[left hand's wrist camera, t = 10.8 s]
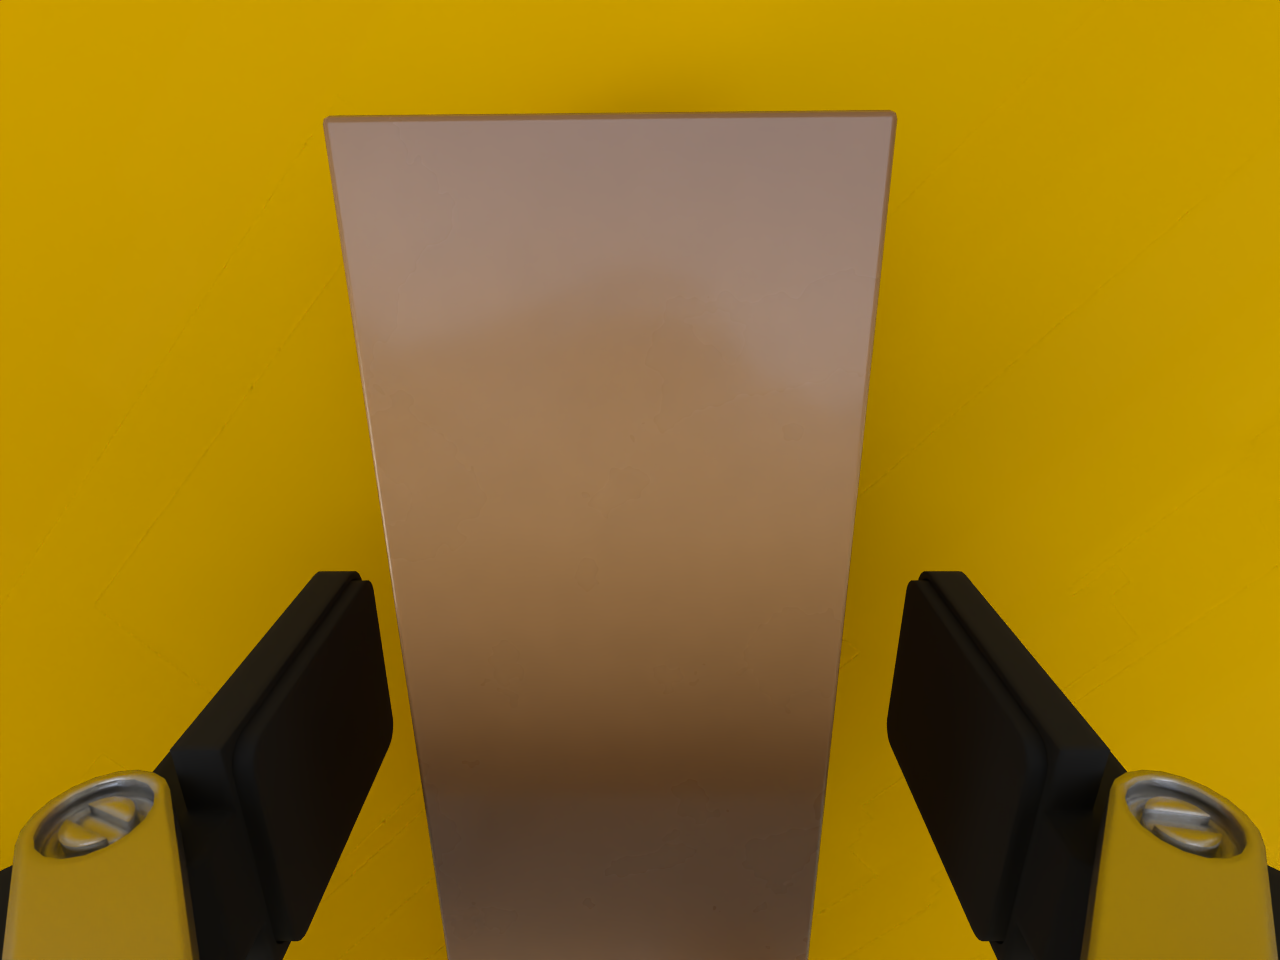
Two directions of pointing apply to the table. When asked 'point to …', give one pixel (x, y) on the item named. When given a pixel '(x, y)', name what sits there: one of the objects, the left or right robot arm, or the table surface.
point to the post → (618, 503)
